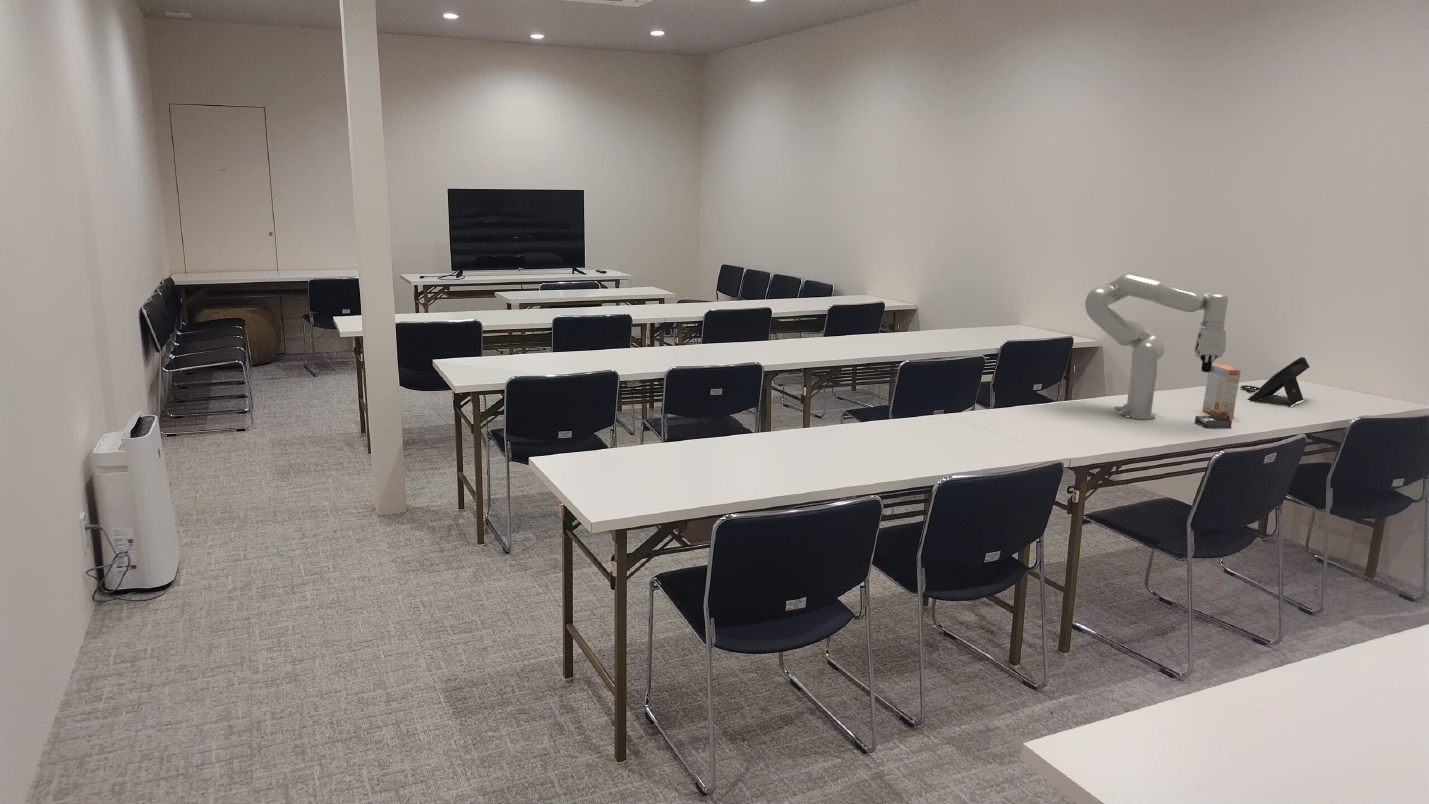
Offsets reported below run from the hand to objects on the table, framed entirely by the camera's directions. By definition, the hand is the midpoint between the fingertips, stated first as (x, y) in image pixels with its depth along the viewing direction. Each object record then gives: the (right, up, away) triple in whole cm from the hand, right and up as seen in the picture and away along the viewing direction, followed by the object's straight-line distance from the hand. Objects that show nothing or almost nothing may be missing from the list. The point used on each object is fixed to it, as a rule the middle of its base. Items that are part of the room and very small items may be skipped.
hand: (1205, 371), depth 351 cm
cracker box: (+17, -18, +22) cm, 33 cm away
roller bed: (+6, -21, +5) cm, 23 cm away
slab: (+8, -18, +5) cm, 20 cm away
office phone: (+58, -10, +56) cm, 81 cm away
